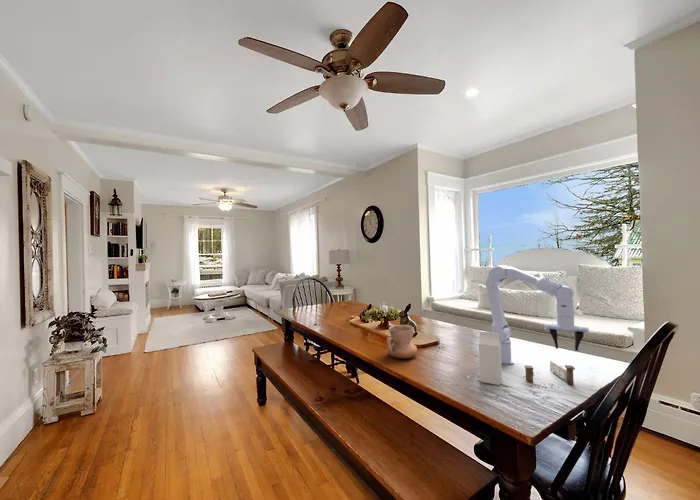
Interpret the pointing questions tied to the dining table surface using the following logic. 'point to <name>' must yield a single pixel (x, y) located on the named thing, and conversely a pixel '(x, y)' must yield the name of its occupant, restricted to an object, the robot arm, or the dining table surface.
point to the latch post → (529, 373)
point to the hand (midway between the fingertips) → (566, 349)
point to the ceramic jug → (401, 342)
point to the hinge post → (570, 374)
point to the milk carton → (490, 358)
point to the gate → (558, 370)
